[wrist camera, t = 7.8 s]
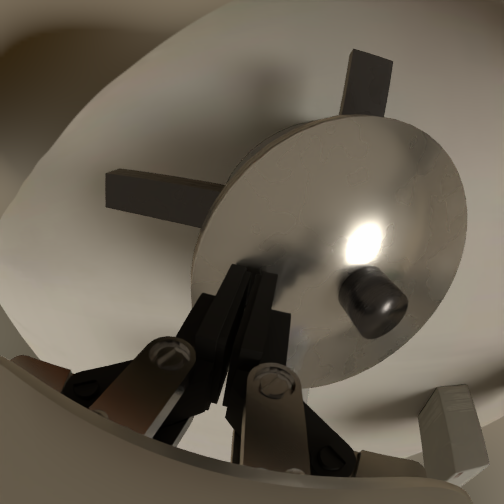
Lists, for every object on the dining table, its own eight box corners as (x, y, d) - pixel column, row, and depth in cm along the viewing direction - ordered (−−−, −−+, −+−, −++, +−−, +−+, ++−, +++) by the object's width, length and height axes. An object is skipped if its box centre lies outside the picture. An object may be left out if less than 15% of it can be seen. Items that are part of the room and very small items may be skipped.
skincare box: (446, 412, 33) (461, 488, 19) (412, 416, 34) (422, 498, 20) (469, 381, 29) (495, 464, 15) (433, 385, 31) (454, 478, 17)
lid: (213, 74, 8) (224, 58, 5) (480, 165, 11) (519, 183, 9) (187, 382, 14) (191, 428, 12) (394, 358, 18) (414, 387, 15)
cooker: (172, 54, 20) (112, 32, 12) (438, 108, 18) (497, 105, 10) (154, 271, 31) (109, 320, 22) (366, 323, 28) (378, 389, 20)
